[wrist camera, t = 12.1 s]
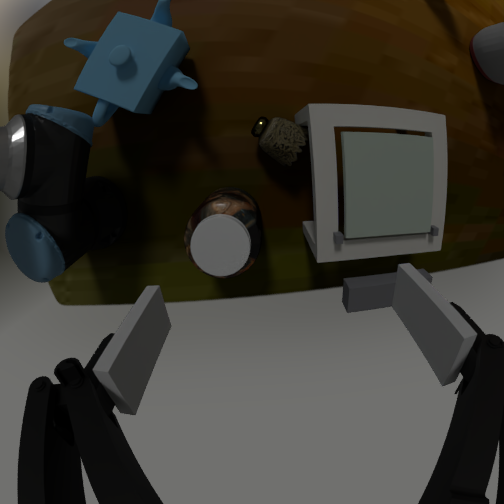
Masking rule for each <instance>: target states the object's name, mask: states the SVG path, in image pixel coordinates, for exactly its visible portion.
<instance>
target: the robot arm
mask: <svg viewBox="0 0 504 504" xmlns="http://www.w3.org/2000/svg"><path fill="white" fill-rule="evenodd" d="M93 130H94V121H93V119H92V118H91V117H90V116H89V115H87V114H85V113H81V112H78V111H74V110H70V109H65V108H60V107H53V106H47V105H39V104H33V105H30V106H29V107H28V110H26V115H15V116H14V117H13V118H12V119H11V120H10V121H9V122H8V124H7V125H6V126H4V127H0V191H2V192H3V193H4V194H5V195H6V196H7V197H9V199H11V200H14V199H18V213H16V214H14V215H13V216H12V217H11V218H10V219H9V221H8V223H7V225H6V230H5V232H6V233H5V236H6V242H7V247H8V250H9V253H10V255H11V257H12V259H13V261H14V262H15V264H16V265H17V267H18V268H19V269H20V270H21V271H22V273H24V274H25V275H26V276H27V277H28V278H30V279H32V280H34V281H36V282H48V281H50V280H52V279H53V278H55V277H56V276H58V275H61V274H62V273H63V272H64V271H65V270H66V269H67V268H68V267H70V266H71V265H72V264H73V263H74V262H76V261H77V260H78V259H79V258H80V257H82V256H83V255H84V254H85V253H87V252H88V251H89V250H96V249H102V248H106V247H108V246H110V245H111V244H113V243H114V242H115V241H117V240H118V239H119V238H120V236H121V235H122V233H123V232H124V229H125V226H126V222H127V208H126V203H125V200H124V198H123V195H122V193H121V192H120V190H119V189H118V188H117V186H116V185H115V184H114V183H113V182H111V181H110V180H108V179H106V178H104V177H100V176H92V177H88V178H86V172H87V165H88V159H89V153H90V147H92V136H93ZM392 307H393V309H394V310H395V312H396V313H397V315H398V316H399V317H400V319H401V320H402V322H403V323H404V325H405V326H406V328H407V329H408V331H409V332H410V334H411V336H412V337H413V339H414V340H415V342H416V343H417V345H418V346H419V348H420V349H421V351H422V353H423V354H424V356H425V358H426V359H427V361H428V363H429V364H430V366H431V368H432V369H433V371H434V373H435V374H436V376H437V378H438V380H439V381H440V383H441V385H442V386H445V385H447V384H450V383H452V382H455V381H456V379H457V377H458V375H459V373H461V374H462V376H463V379H462V381H461V382H460V384H459V386H458V388H457V390H456V392H455V394H457V392H458V391H459V393H458V398H457V401H456V405H455V409H454V413H453V417H452V420H451V424H450V427H449V430H448V433H447V436H446V440H445V442H444V445H443V448H442V451H441V454H440V456H439V459H438V462H437V464H436V466H435V469H434V471H433V474H432V476H431V478H430V480H429V482H428V485H427V487H426V489H425V491H424V493H423V495H422V497H421V499H420V501H419V503H418V504H489V499H488V498H486V497H485V492H486V488H487V486H488V482H489V479H490V475H491V472H492V468H493V464H494V460H495V456H496V451H497V446H498V441H499V478H498V490H497V499H496V504H504V342H503V340H502V339H500V337H498V336H496V335H493V334H487V335H485V334H484V332H483V331H482V330H481V329H480V328H479V327H478V326H477V324H476V323H475V322H474V321H473V320H472V319H470V317H469V316H468V315H467V314H466V312H465V311H464V310H463V309H462V308H461V307H460V306H458V305H456V304H454V303H453V302H451V303H449V302H448V301H447V300H446V299H445V298H444V297H443V296H442V295H441V294H440V293H439V292H438V291H437V290H436V289H435V288H434V286H433V285H432V284H431V283H430V282H429V281H428V280H427V279H426V278H425V277H423V276H422V275H421V274H420V273H419V272H418V271H417V270H416V269H415V268H414V267H413V266H412V265H411V264H410V263H406V264H398V270H397V277H396V284H395V291H394V297H393V302H392ZM170 328H171V323H170V320H169V317H168V314H167V310H166V307H165V304H164V300H163V297H162V293H161V290H160V286H159V285H158V286H147V287H146V288H145V290H144V291H143V293H142V294H141V295H140V297H139V298H138V300H137V301H136V303H135V304H134V306H133V307H132V309H131V310H130V312H129V313H128V315H127V316H126V318H125V319H124V321H123V322H122V324H121V325H120V327H119V328H118V330H117V331H116V333H115V334H113V333H111V334H109V335H108V336H107V337H106V338H104V339H103V341H102V342H101V344H100V345H99V348H97V350H96V351H95V354H93V356H92V357H91V359H90V361H89V362H88V364H87V366H86V367H85V368H83V367H82V365H81V363H80V362H79V360H78V359H76V358H68V359H65V360H63V361H61V362H60V363H59V364H58V365H57V366H56V368H55V370H54V374H55V376H56V377H57V379H58V380H59V382H60V383H61V384H53V383H52V382H51V380H50V379H49V378H48V377H46V376H45V377H44V376H42V377H39V378H36V379H35V380H34V381H33V382H32V383H31V385H30V387H29V391H28V396H27V400H26V406H25V411H24V417H23V424H22V430H21V438H20V447H19V459H18V460H19V461H18V504H86V500H85V494H84V487H83V479H82V469H81V459H82V462H83V465H84V468H85V471H86V473H87V476H88V479H89V481H90V484H91V486H92V489H93V491H94V493H95V495H96V498H97V500H98V502H99V504H163V503H162V501H161V500H160V498H159V497H158V495H157V493H156V492H155V490H154V489H153V487H152V486H151V484H150V482H149V481H148V479H147V477H146V476H145V474H144V472H143V470H142V469H141V467H140V465H139V463H138V461H137V460H136V458H135V456H134V454H133V452H132V450H131V448H130V446H129V444H128V442H127V440H126V438H125V436H124V434H123V432H122V430H121V427H120V425H119V423H118V421H117V419H116V416H115V414H114V413H113V412H112V410H113V408H114V406H116V407H117V409H118V410H119V411H120V413H125V414H131V415H136V412H137V409H138V407H139V404H140V401H141V399H142V396H143V394H144V391H145V389H146V386H147V383H148V381H149V378H150V376H151V373H152V371H153V369H154V366H155V364H156V361H157V359H158V356H159V354H160V351H161V349H162V347H163V344H164V342H165V340H166V337H167V335H168V333H169V330H170Z"/></svg>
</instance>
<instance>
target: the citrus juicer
mask: <svg viewBox="0 0 504 504" xmlns="http://www.w3.org/2000/svg"><path fill="white" fill-rule="evenodd" d="M470 52H471V56H472V59H473V61H474V63H475V65H476V67H477V68H478V70H479V71H480V72H481V74H482V75H483V76H484V77H485V78H487V79H488V80H490V81H492V82H495V83H498V84H503V85H504V22H502V23H499V24H495V25H492V26H489V27H486V28H484V29H482V30H481V31H480V32H478V33H477V34H476V35H475V36H474V37H473V38H472V40H471V42H470Z"/></svg>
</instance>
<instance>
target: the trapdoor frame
mask: <svg viewBox="0 0 504 504" xmlns="http://www.w3.org/2000/svg"><path fill="white" fill-rule="evenodd" d="M295 123H296V124H298V125H300V126H307V125H308V132H309V143H310V156H311V170H312V187H313V207H314V221H304V222H303V233H304V235H305V237H306V239H307V241H308V243H309V246H310V248H311V250H312V252H313V254H314V256H315V259H316V261H317V263H321V262H332V261H343V260H353V259H363V258H373V257H383V256H393V255H402V254H412V253H421V252H430V251H439V250H441V244H442V237H443V229H444V219H445V208H446V193H447V134H446V120H445V115H441V114H436V113H430V112H424V111H417V110H410V109H402V108H393V107H383V106H370V105H352V104H308V105H307V106H305V107H304V108H303V109H302V110H300V111H299V112H298V113H297V114H295ZM334 127H363V128H384V129H398V130H409V131H419V132H425V137H433V150H434V183H433V205H432V218H431V229H430V232H424V233H410V234H397V235H384V236H371V237H359V238H345V236H343V234H342V233H341V232H340V231H339V232H338V189H337V166H336V149H335V135H334Z"/></svg>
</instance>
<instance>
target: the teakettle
mask: <svg viewBox="0 0 504 504" xmlns="http://www.w3.org/2000/svg"><path fill="white" fill-rule="evenodd" d="M170 1H171V0H159V1H158V3H157V6H156V9H155V11H154V14H153V16H152V18H151V20H148V19H144V18H141V17H137V16H133V15H130V14H126V13H122V12H118V13H117V14H116V16H115V17H114V18H113V20H112V21H111V23H110V24H109V26H108V27H107V29H106V30H105V32H104V33H103V35H102V36H101V38H100V40H99V41H98V42H92V41H84V40H80V39H76V38H67V39H65V41H64V45H65V46H67V47H69V48H72V49H75V50H77V51H79V52H80V53H82V54H83V55H84V56H86V57H87V58H88V61H87V62H86V64H85V66H84V68H83V70H82V72H81V74H80V76H79V78H78V81H77V83H76V85H75V87H74V89H75V90H77V91H80V92H83V93H86V94H88V95H91V96H94V97H96V98H99V100H98V102H97V105H96V107H95V110H94V113H93V116H92V119H93V121H94V126H95V127H100V126H102V125H104V124H105V123H106V122H107V121H108V120H109V119H110V117H111V116H112V115H113V114H114V113H115V111H116V110H117V109H118V108H119V107H121V108H124V109H126V110H129V111H131V112H133V113H142V114H152V112H153V110H154V108H155V107H156V105H157V103H158V101H159V99H160V97H161V96H162V94H163V92H164V90H172V89H174V88H176V87H177V86H179V87H183V88H186V89H191V90H193V89H196V88H197V87H198V84H197V83H196V82H195V81H194V80H193V79H191V78H190V77H187V76H185V75H183V73H182V71H181V70H180V69H178V67H179V66H180V64H181V62H182V61H183V59H184V58H185V56H186V55H187V53H188V52H189V50H190V47H189V45H188V42H187V40H186V37H185V35H184V32H183V31H180V30H178V29H175V28H172V18H171V14H170V8H169V7H170Z"/></svg>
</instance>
